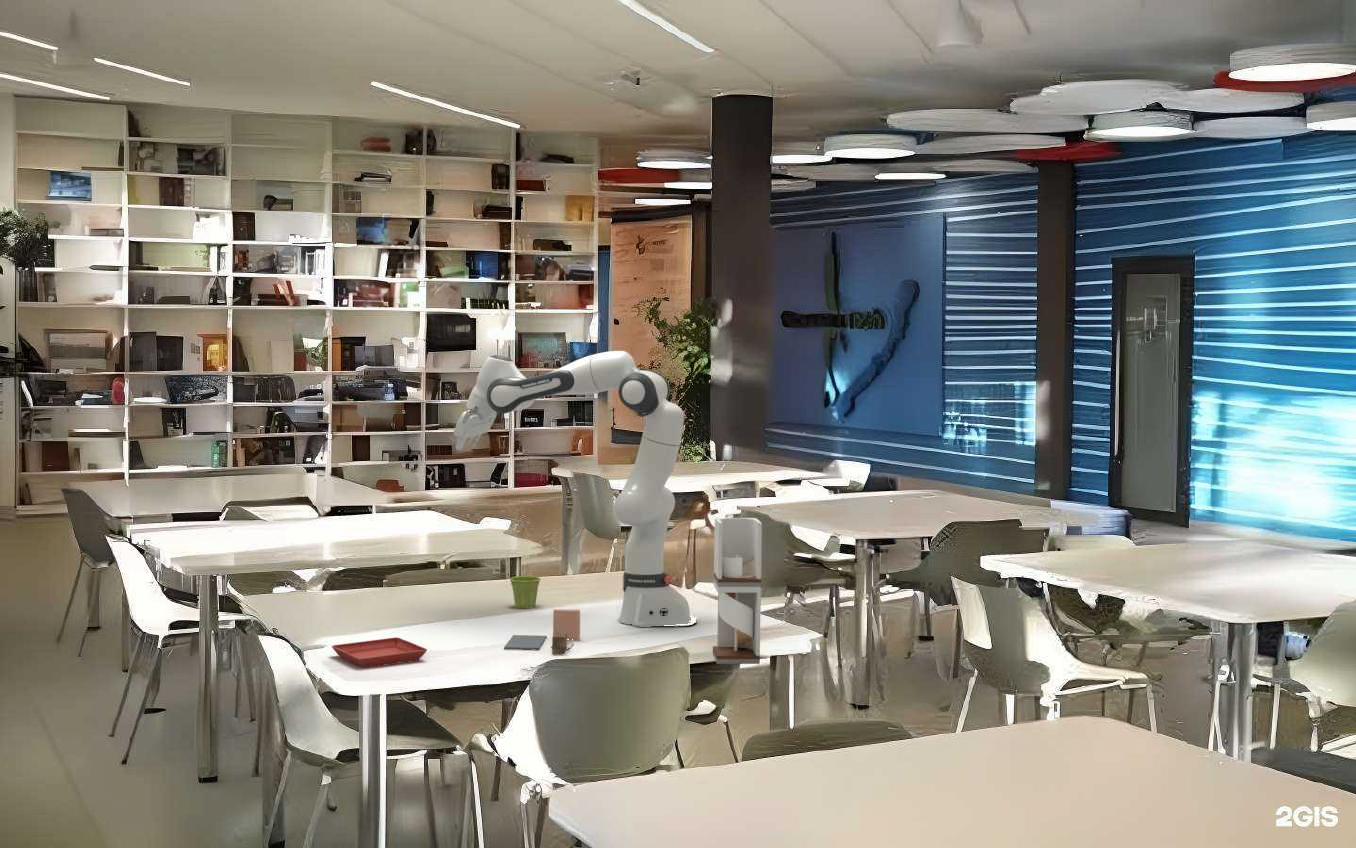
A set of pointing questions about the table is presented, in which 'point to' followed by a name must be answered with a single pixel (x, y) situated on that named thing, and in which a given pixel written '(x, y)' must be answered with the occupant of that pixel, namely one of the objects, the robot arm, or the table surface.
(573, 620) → the tile
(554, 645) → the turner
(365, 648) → the plant saucer
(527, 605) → the plant pot
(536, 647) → the mat
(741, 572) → the display case
